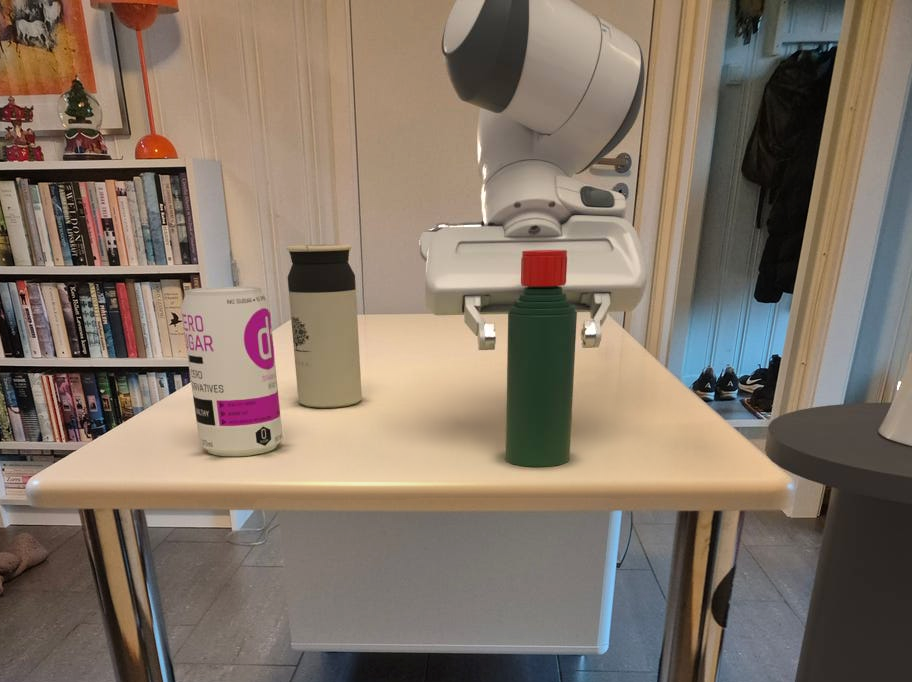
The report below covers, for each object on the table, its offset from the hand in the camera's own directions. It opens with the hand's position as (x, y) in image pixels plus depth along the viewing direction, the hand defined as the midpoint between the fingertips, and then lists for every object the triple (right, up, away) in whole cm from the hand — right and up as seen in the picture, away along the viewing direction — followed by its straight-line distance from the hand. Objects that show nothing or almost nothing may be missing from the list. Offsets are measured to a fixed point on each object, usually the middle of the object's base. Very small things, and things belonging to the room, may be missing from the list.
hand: (539, 344), depth 76 cm
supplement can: (-29, -7, +10) cm, 32 cm away
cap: (0, +4, -3) cm, 5 cm away
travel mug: (-22, +3, +31) cm, 39 cm away
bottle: (0, -9, +4) cm, 10 cm away
